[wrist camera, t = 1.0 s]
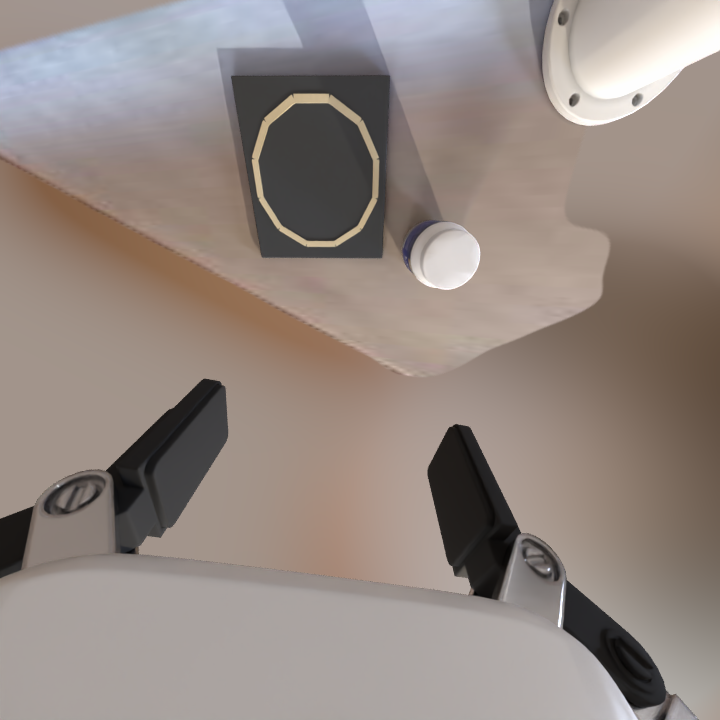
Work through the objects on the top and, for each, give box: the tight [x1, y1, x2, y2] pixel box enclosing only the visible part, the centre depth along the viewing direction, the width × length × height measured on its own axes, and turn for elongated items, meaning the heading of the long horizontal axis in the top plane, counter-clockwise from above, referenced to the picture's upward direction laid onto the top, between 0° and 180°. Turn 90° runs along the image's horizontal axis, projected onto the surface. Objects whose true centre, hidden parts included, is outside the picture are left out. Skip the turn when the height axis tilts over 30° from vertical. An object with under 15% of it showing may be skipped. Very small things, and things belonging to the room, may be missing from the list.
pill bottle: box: [402, 220, 480, 289], centre depth 25 cm, size 6×6×10 cm
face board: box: [231, 76, 390, 258], centre depth 26 cm, size 14×15×1 cm
